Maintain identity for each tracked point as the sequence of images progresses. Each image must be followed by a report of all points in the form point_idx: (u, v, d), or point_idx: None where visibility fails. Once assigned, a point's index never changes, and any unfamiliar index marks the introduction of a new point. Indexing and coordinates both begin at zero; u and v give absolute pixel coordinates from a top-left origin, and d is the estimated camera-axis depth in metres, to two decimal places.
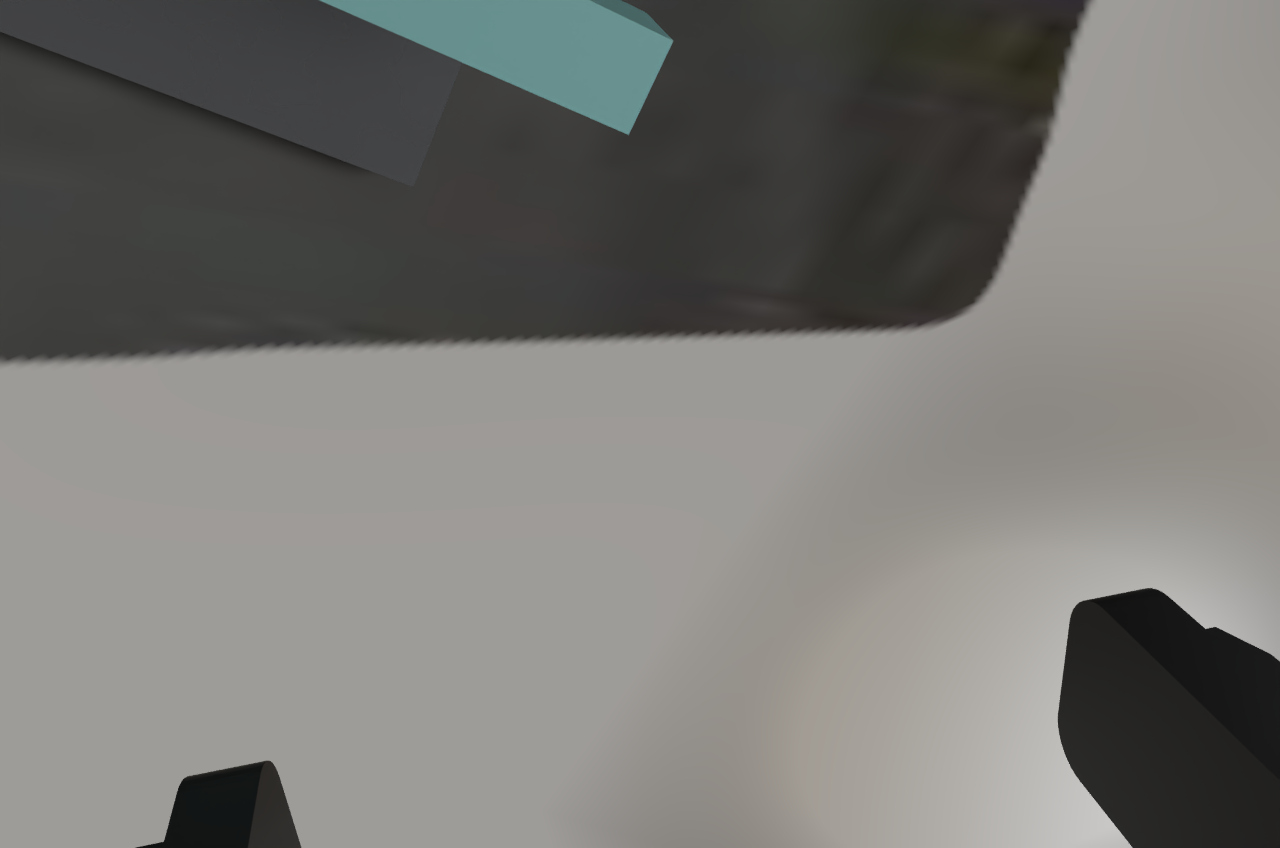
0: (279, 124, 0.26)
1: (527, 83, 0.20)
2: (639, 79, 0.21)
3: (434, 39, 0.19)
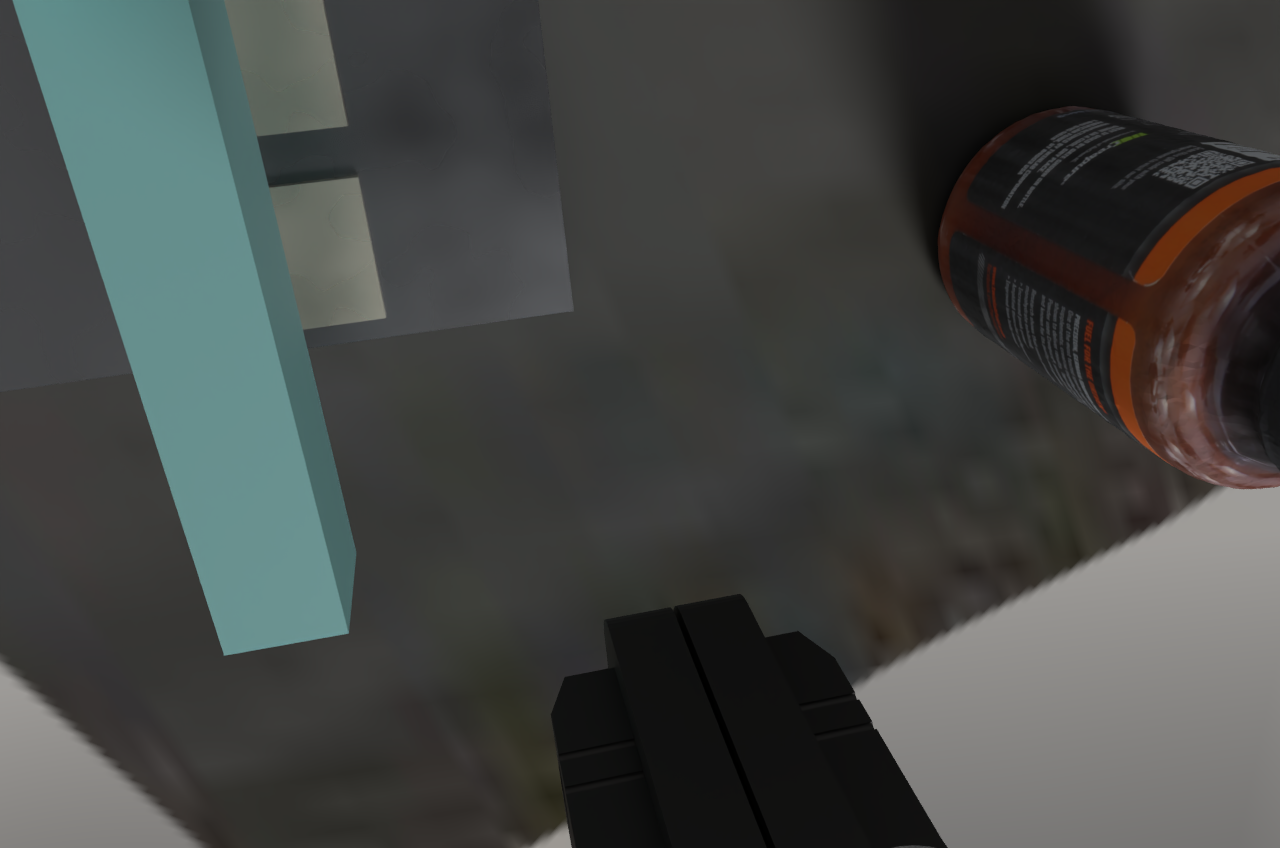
0: None
1: (195, 536, 0.16)
2: (287, 629, 0.17)
3: (163, 426, 0.15)
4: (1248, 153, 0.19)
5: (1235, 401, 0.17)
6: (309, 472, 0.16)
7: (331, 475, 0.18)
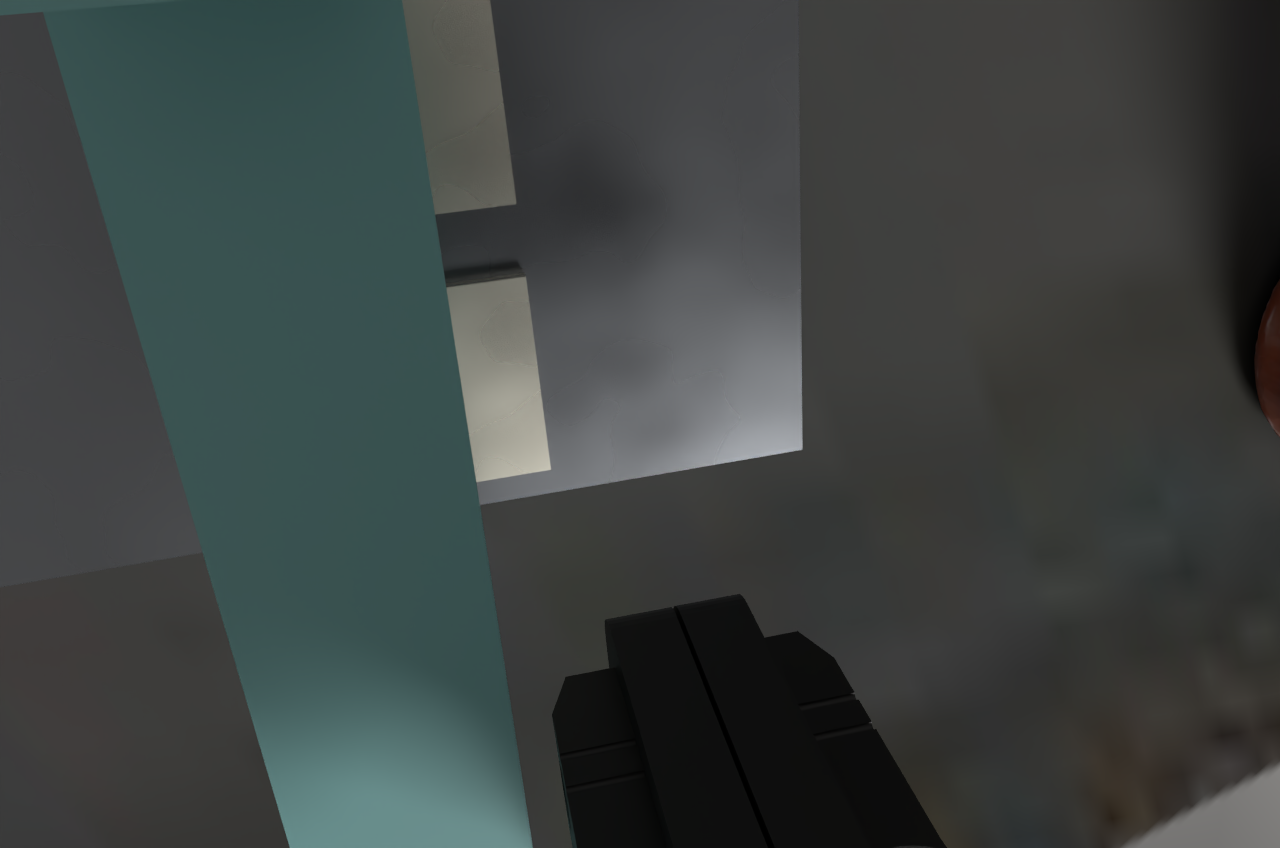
0: None
1: None
2: None
3: (293, 778, 0.09)
4: None
5: None
6: (529, 826, 0.09)
7: None
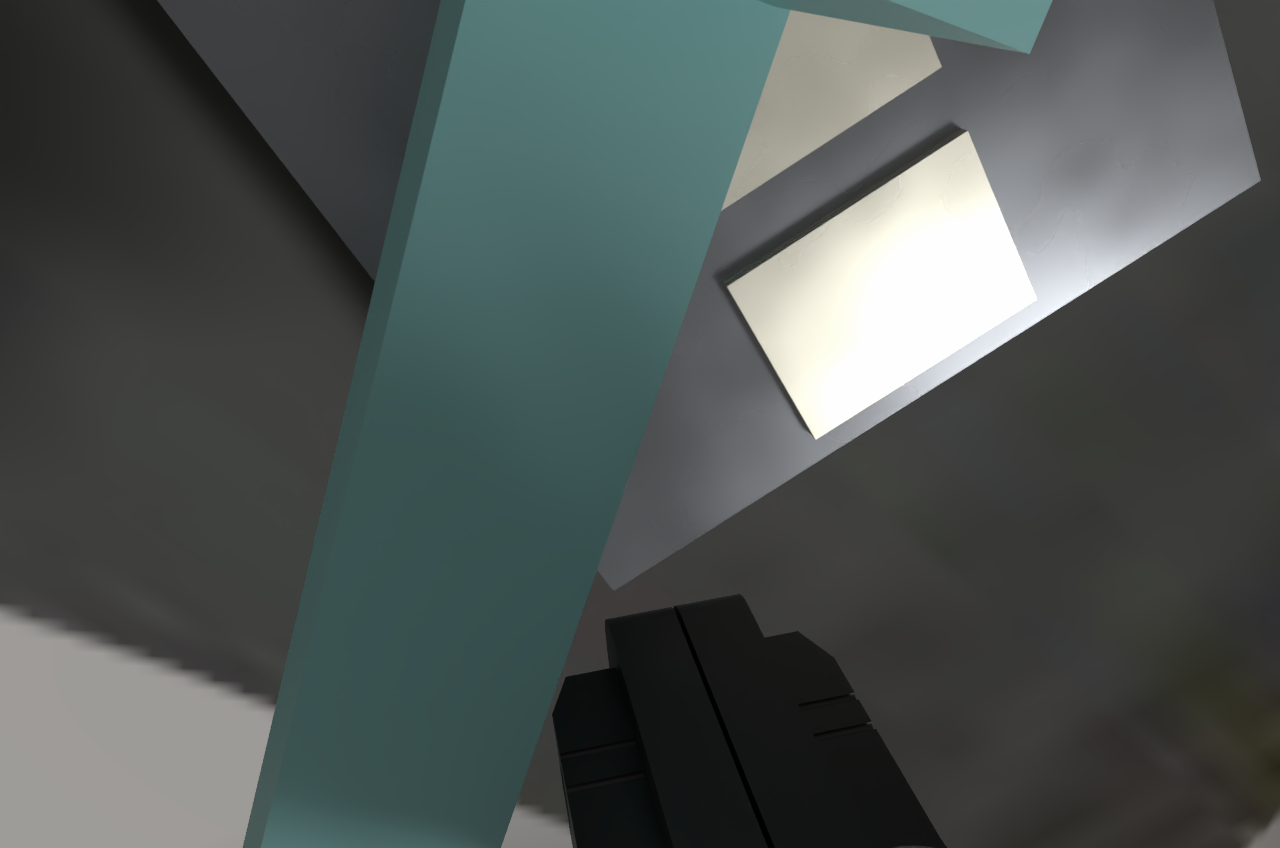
0: None
1: None
2: None
3: (316, 717, 0.08)
4: None
5: None
6: (500, 836, 0.09)
7: None
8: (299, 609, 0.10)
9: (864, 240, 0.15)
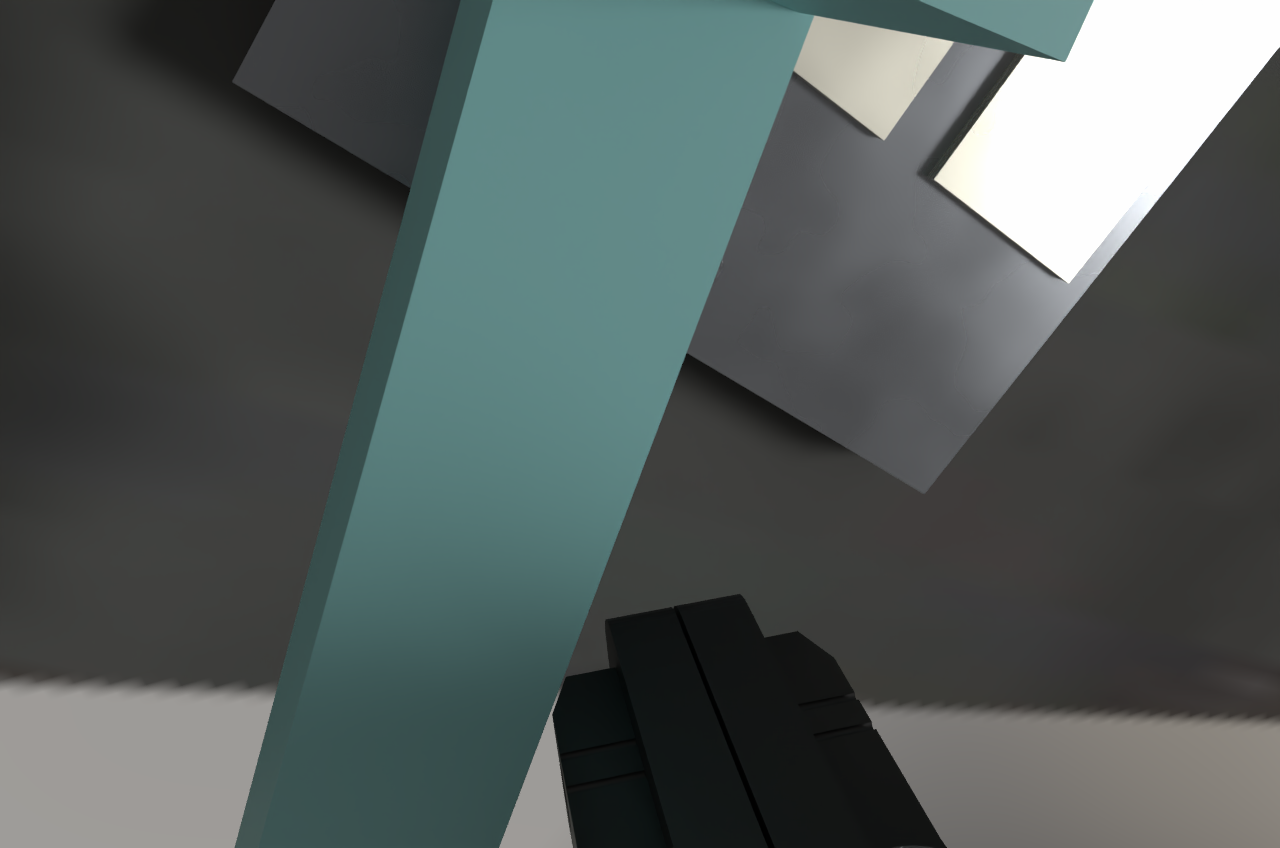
0: (771, 379, 0.16)
1: None
2: None
3: (319, 710, 0.08)
4: None
5: None
6: (499, 833, 0.09)
7: None
8: (301, 603, 0.10)
9: (1052, 76, 0.15)
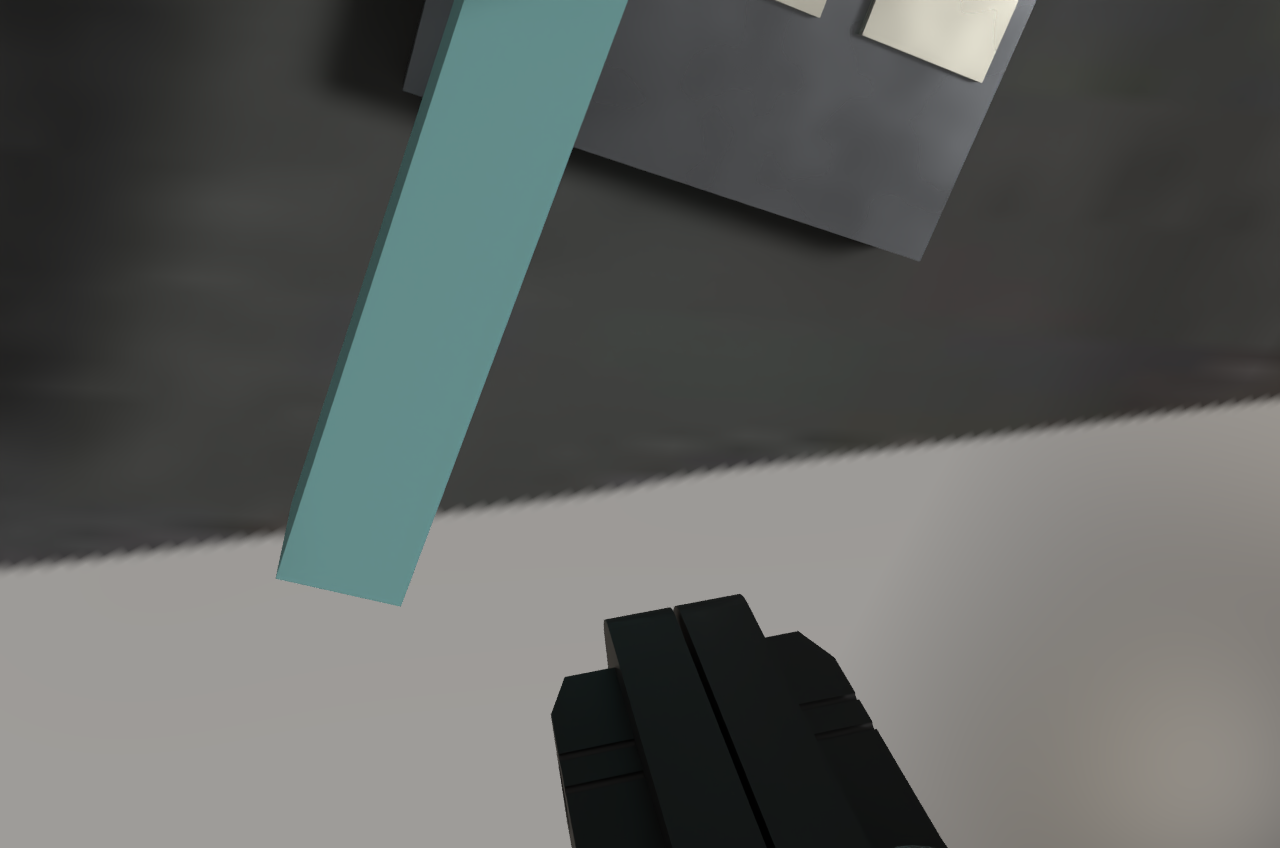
0: (786, 202, 0.23)
1: (324, 454, 0.16)
2: (348, 579, 0.17)
3: (365, 342, 0.15)
4: None
5: None
6: (460, 443, 0.16)
7: None
8: (349, 324, 0.17)
9: None
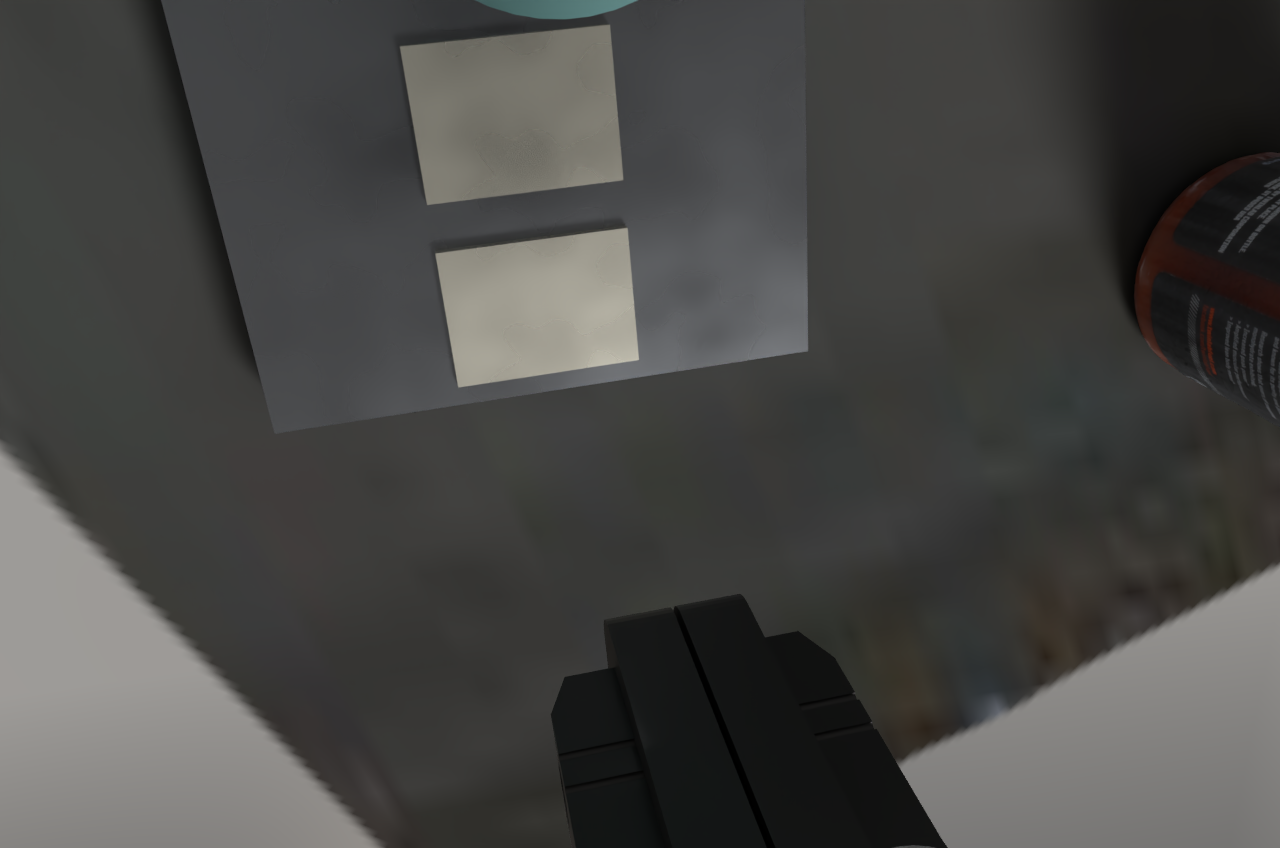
0: (248, 269, 0.21)
1: None
2: None
3: None
4: None
5: None
6: None
7: None
8: None
9: (537, 266, 0.22)
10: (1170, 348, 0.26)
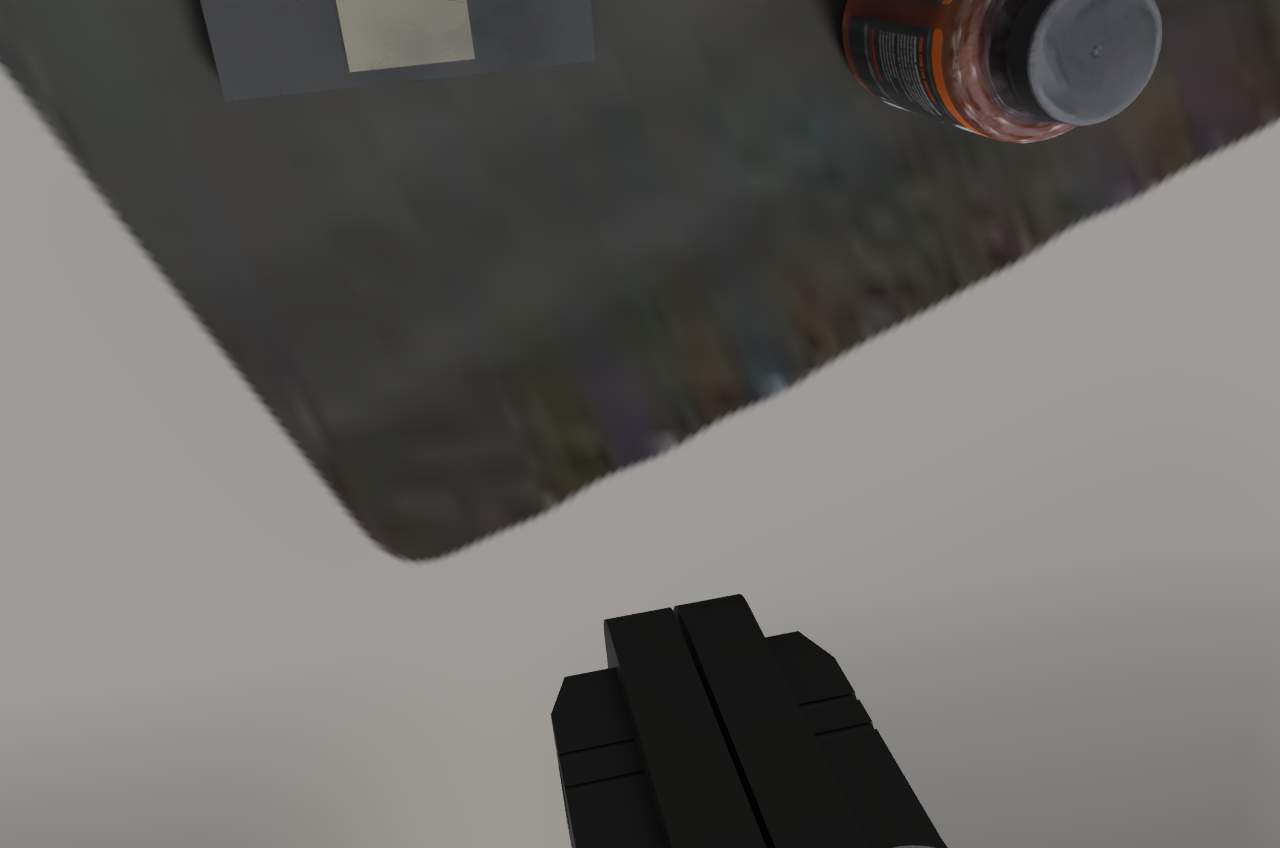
0: None
1: None
2: None
3: None
4: None
5: (996, 64, 0.29)
6: None
7: None
8: None
9: None
10: (862, 73, 0.37)
